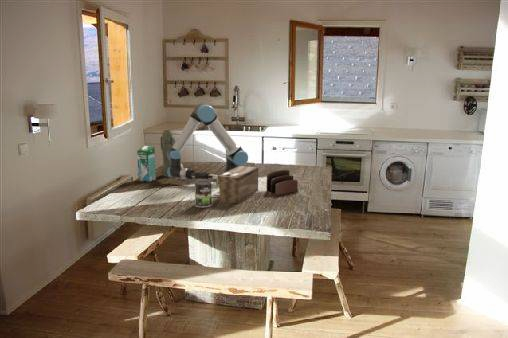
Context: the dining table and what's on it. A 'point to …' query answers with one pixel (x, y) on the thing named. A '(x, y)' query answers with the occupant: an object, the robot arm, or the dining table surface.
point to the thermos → (166, 149)
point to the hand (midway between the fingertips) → (217, 177)
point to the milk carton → (146, 163)
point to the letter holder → (281, 183)
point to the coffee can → (203, 194)
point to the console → (238, 184)
